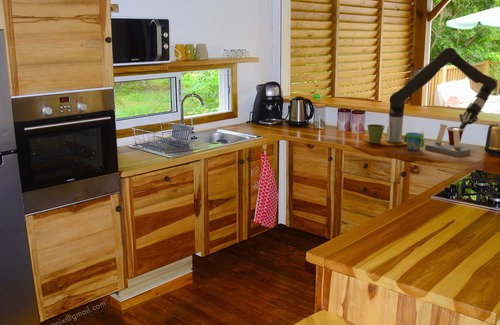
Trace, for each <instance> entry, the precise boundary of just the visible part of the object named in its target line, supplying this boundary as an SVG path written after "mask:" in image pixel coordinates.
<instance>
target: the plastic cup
mask: <svg viewBox="0 0 500 325" xmlns="http://www.w3.org/2000/svg"><path fill="white" fill-rule="evenodd" d="M454 128H458V129H460V131H459V137H460V142H461V140H462V136H463V133H464V131H465V128H464V129H461V128H460V126H449V127H448V126H447V128H446V130H447V134H448V142H449V144H448V145H452V146H454V134H453V131H452V129H454Z"/></svg>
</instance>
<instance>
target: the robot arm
mask: <svg viewBox="0 0 500 325" xmlns="http://www.w3.org/2000/svg"><path fill="white" fill-rule="evenodd" d="M448 64H451V65H453V66H454V67H456V69H458V70H459V71H461V72H462V74H464V75H465V76H466V77H467V78H468V79H470V80H471V81H472V82H473V83H475V84H481V87H480V88H479V90H478V92H477V94H475V96H474V98H473V99H471V101H470V103H469V104H468V107H467V108H466V110H465V111H464V112H463V113H459V121H460V123H461V124H460V125H459V127H460V128H461V129H464V130H465V128H466V127H467V126H468V125H472V124H474V123H476V122H477V121H479V120H480V119H479V118H478V115H479V114H480V112H482V109H483V108H484V107H485V104H486V103H487V101H488V100H489V96H490V95H491V94H492V92H494V91H495V89H496V88H497V87H498V86H497V85H498V83H497V81H496V79H494V78H493V77H491V76H488V75H486V74H485V73H483V72H481V71H480V70H479V69H477V68H476V67H475V66H474V65H472V64H470V63H469V62H468V61H466V60H465V59H464V58H463V57H462V56H461V55H460V54H459V53H458V52H457V50H456V49H455V48H453V47H451V46H450V47H445V48H443V49H442V50H441V52H439V54H438V55H437V56H436V57H435V58H434V59H433V60H431V61H430V62H429V63H428V64H426V65H425V66H423V67H422V68H421V69H420V70H418V71H416V73H415V74H414V75H413V76H412V77H411V78H410V79H409V80H408V82H407V83H405V84H404V86H402V87H401V88H399V90H397V91H395V92H393V93H392V94H391V95H390V97H389V112H388V126H387V129H386V141H387V142H388V141H389V142H388V143H395V142H397V143H401V142H403V141H402V140H403V139H402V138H403V124H404V113H405V112H404V111H405V102H406V100H407V99H409V98H410V96H412V94H414V93H415V92H417V91H419V90H420V89H421V88H423V87H424V86H425V85H426V84H427V83H429V82H430V81H431V80H432V79H434V77H435V76H436V75H437V74H438V72H439V71H440V70H441V69H442V68H444V67H445V66H446V65H448Z"/></svg>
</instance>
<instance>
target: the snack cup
mask: <svg viewBox="0 0 500 325" xmlns="http://www.w3.org/2000/svg"><path fill="white" fill-rule="evenodd" d="M403 142H404V143H406V149H407V150H409V151H414V152H417V151H420V150H421V148H424V147H425V139H424V134H423V133H420V132H406V133H405V135H404V138H403Z"/></svg>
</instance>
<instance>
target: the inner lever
mask: <svg viewBox="0 0 500 325" xmlns="http://www.w3.org/2000/svg"><path fill="white" fill-rule="evenodd" d="M447 128H448V125H447V124H444V123H443V124H442V123H440V125H439V131H438V133H437V137H436V140H435V141H434V143H435V144H438V145H441V144H442V143H443V139H444V136H445V132H446V130H447Z"/></svg>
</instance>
